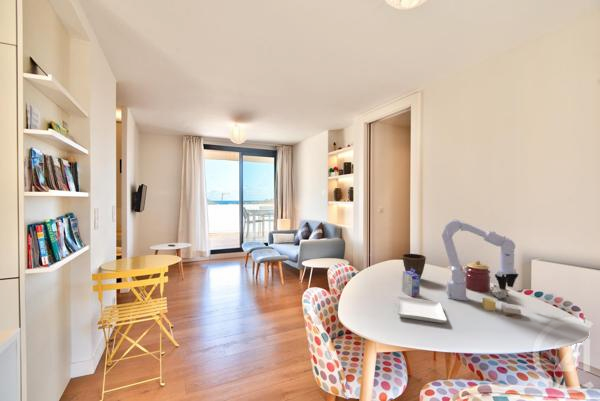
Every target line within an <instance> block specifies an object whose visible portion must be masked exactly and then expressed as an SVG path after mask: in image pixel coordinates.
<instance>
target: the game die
mask: <svg viewBox="0 0 600 401" xmlns="http://www.w3.org/2000/svg"><path fill="white" fill-rule="evenodd" d="M490 289H491V291H489V292H490V294H493V297H496V298H498V300H499V301H500V300H501V299H505V300H506V299H507V297H510V296H509V292H510V289H509V290H508V289H507V288H505V290H503V289H500V287H499V284H497V285H496V284H493V286H490Z"/></svg>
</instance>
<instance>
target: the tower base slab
mask: <svg viewBox="0 0 600 401" xmlns="http://www.w3.org/2000/svg"><path fill="white" fill-rule="evenodd" d="M501 312H502V314H503V315H504V316H505V317H507V318H514V319H515V318H516V319H517V318H518V319H521V318H522V314H521V315H520V314H513V313H507V312H505V311H504V310H503V309H502V308H501Z"/></svg>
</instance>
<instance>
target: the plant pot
mask: <svg viewBox="0 0 600 401" xmlns="http://www.w3.org/2000/svg"><path fill="white" fill-rule="evenodd" d="M401 257H402V262H403V267H404V270H405V271H410V270H411V268H412V269H414V270H415V272H414V271H413V270H411V271H412V272H414V273H415V274H417V275H420V279H421V278H422V275H423V273H424V269H425V265H426V260H427V256H425V255H423V254H418V253H404V254H402V255H401Z"/></svg>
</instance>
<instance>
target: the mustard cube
mask: <svg viewBox="0 0 600 401" xmlns="http://www.w3.org/2000/svg"><path fill="white" fill-rule="evenodd" d="M496 305H497V304H496V300H494V298H489V297H488V298H487V297H482V308H483V309H484V310H487V311H494V312H496V309H497V308H496Z"/></svg>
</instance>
